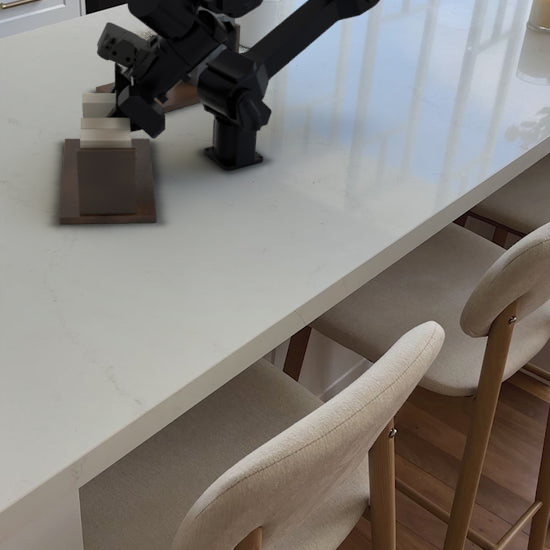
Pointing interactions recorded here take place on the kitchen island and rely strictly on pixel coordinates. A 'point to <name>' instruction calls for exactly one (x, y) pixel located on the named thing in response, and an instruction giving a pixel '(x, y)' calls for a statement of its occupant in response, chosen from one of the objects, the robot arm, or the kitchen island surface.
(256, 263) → the kitchen island surface
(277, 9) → the mug
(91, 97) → the white book
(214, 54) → the bookend
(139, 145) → the brown wooden stand
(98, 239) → the kitchen island surface
